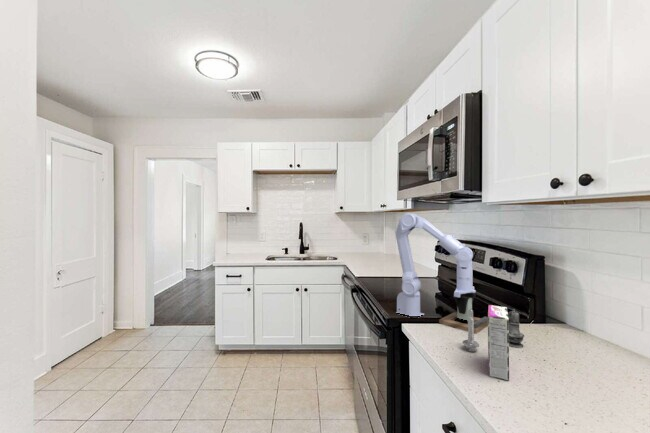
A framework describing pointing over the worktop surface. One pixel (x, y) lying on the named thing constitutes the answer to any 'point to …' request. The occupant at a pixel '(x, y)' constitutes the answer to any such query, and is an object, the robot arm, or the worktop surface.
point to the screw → (470, 334)
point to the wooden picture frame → (451, 322)
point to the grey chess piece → (514, 330)
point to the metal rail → (480, 322)
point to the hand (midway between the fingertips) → (464, 312)
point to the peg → (466, 315)
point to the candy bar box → (498, 342)
